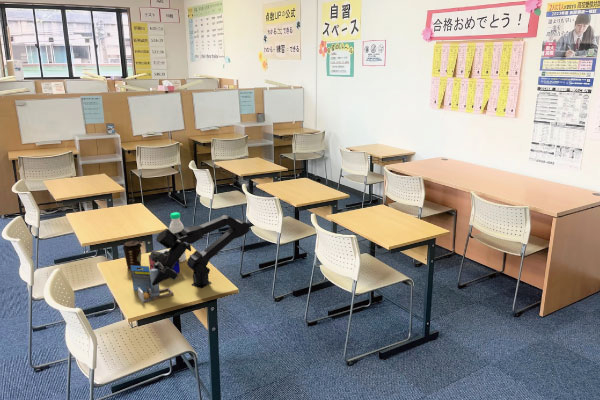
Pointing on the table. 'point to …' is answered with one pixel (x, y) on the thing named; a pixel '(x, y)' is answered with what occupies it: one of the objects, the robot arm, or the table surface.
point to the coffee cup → (132, 253)
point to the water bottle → (177, 229)
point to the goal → (143, 295)
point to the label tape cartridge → (140, 277)
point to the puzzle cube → (176, 266)
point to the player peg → (156, 287)
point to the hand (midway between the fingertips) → (151, 283)
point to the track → (164, 294)
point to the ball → (146, 295)
